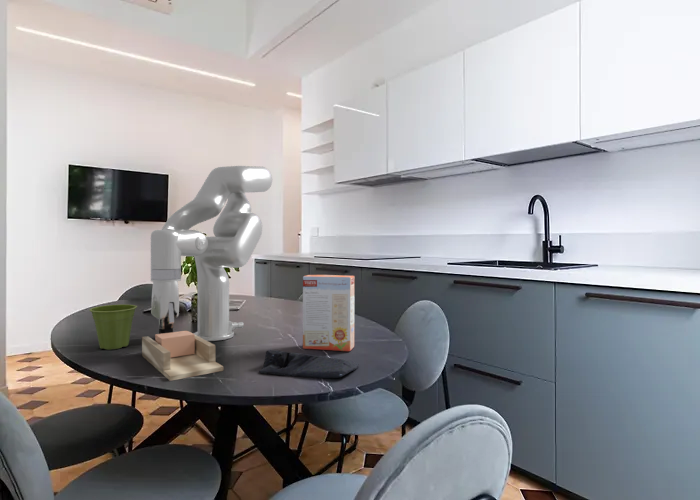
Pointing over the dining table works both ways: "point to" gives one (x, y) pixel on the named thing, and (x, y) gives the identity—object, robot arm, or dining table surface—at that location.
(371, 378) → the dining table surface
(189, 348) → the block
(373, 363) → the dining table surface
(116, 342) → the plant pot
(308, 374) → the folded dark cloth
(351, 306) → the cracker box
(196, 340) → the chute
